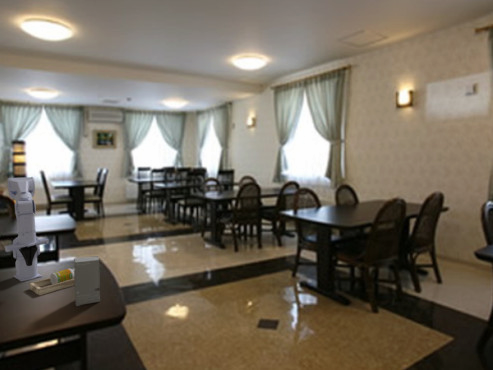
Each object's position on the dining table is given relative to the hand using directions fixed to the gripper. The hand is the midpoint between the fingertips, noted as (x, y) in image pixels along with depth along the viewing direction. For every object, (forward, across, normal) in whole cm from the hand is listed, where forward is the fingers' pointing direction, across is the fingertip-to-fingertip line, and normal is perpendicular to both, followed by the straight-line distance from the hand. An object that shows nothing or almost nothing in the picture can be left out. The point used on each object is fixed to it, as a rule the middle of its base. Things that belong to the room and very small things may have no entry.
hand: (29, 265), depth 133 cm
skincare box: (+10, +10, -27) cm, 30 cm away
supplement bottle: (+8, +7, -2) cm, 11 cm away
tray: (+10, +10, -3) cm, 15 cm away
